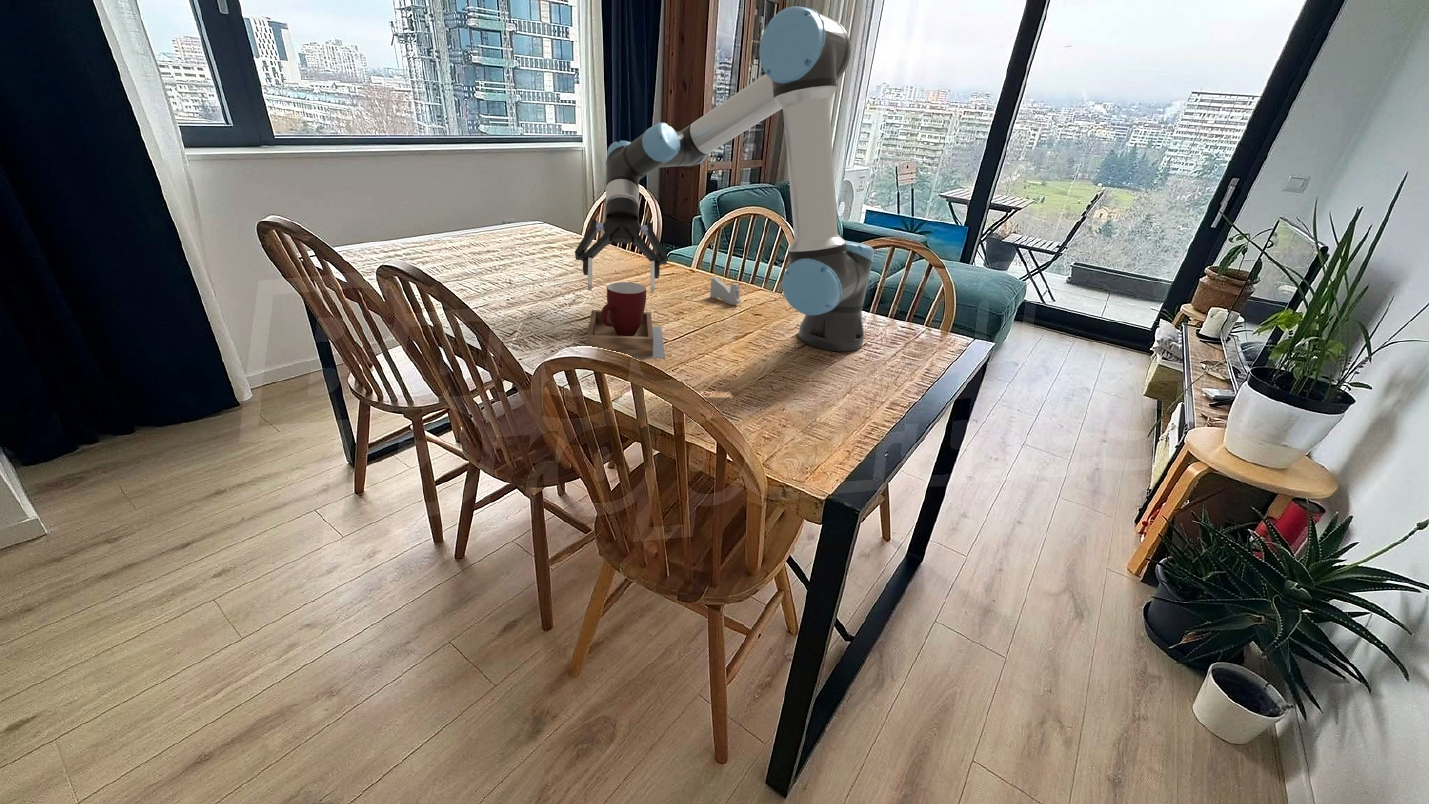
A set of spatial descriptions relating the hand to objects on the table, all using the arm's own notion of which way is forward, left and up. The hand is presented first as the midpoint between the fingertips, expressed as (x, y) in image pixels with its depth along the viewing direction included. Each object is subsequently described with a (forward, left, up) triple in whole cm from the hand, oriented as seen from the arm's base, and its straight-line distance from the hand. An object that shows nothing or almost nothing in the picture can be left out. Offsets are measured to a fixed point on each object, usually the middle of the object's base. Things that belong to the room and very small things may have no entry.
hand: (621, 289), depth 125 cm
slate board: (-1, +8, -10) cm, 13 cm away
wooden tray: (0, +8, -9) cm, 12 cm away
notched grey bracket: (-28, -24, -10) cm, 38 cm away
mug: (0, +8, -8) cm, 11 cm away
